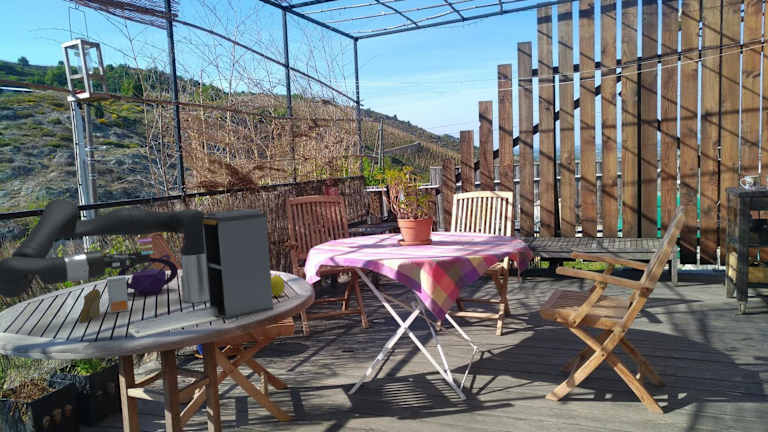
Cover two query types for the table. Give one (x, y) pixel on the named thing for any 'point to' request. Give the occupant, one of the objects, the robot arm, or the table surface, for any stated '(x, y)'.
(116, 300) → the skincare box
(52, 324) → the table surface
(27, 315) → the table surface
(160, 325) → the panel
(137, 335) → the mat
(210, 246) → the rack
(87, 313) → the rock
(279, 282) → the lemon
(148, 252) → the purple handbag
